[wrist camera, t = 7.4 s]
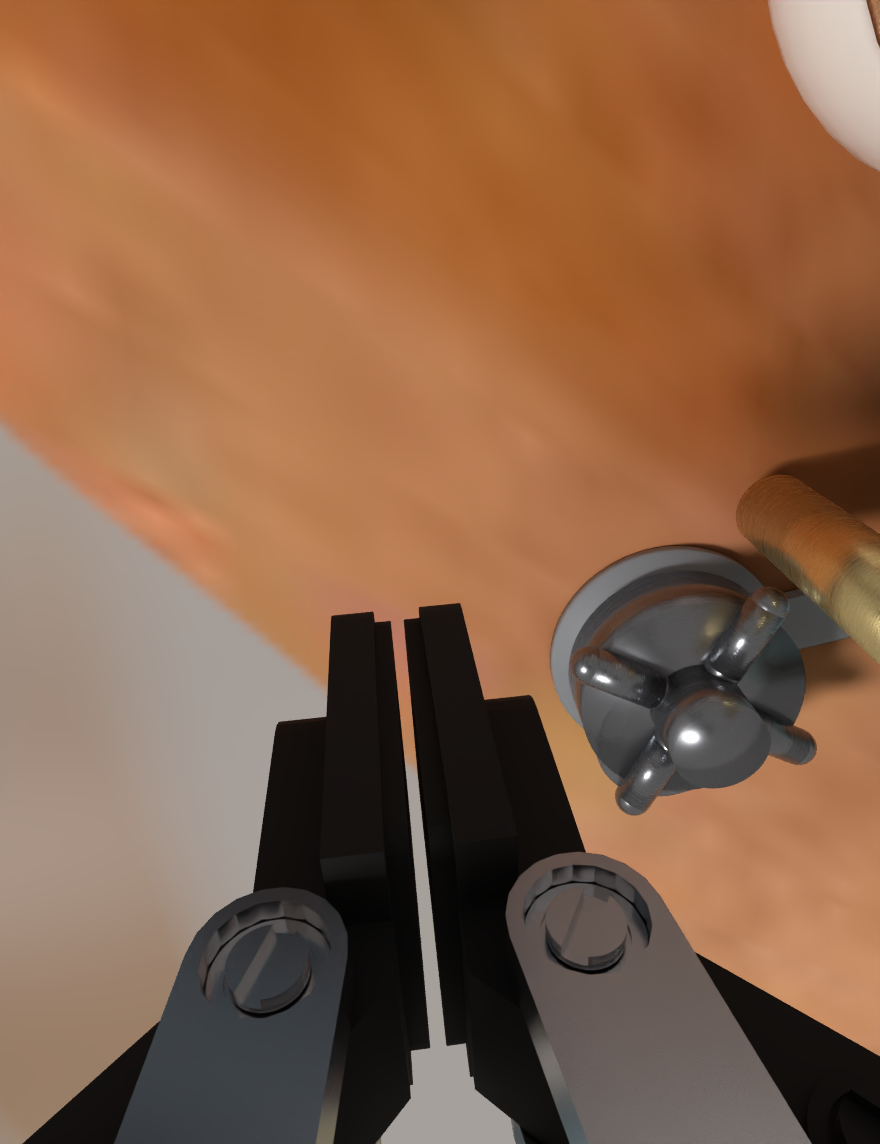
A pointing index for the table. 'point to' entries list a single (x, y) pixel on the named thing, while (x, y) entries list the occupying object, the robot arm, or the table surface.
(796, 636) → the spoked knob panel
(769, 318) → the table surface
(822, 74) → the lidded jar
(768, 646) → the cross handle valve
